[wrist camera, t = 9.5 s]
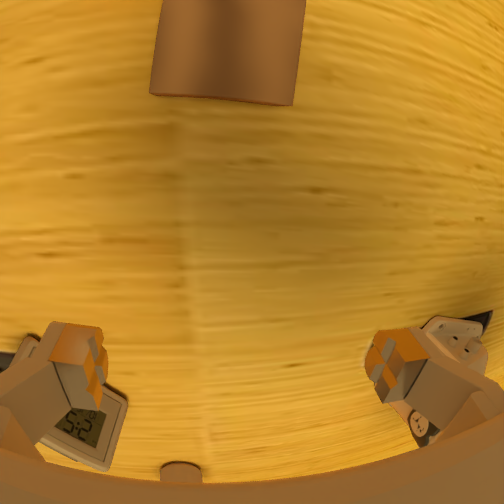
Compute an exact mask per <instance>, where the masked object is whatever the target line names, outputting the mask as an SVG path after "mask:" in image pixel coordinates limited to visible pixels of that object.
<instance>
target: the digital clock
mask: <svg viewBox="0 0 504 504" xmlns="http://www.w3.org/2000/svg"><path fill="white" fill-rule="evenodd" d="M38 344H39V341H37V340H36V339H35V338H33V337H30V336H28V337H26V338H25V339H24V340H23V342H22V344H21V346H20V347H19V349H18V351H17V353H16V355H15V357H14V358H13V360H12V362H11V364H10V366H9V368H10V367H12V366H13V365H15V364H16V363H18V362H20V361H21V360H23V359H25V358H26V357H29V358H31V357H32V355H33V353H34V351H35V349H36V348H37V346H38ZM101 389H102V392H103V395H102V399H101V403H100V407H99V411H94V410H86V409H79V408H72V407H71V410H70V411H69V412H68V413H67V414H66V415H65V416H64V417H63V418H62V419H61V420H60V421H59V422H57V423H56V424H55V425H54V426H53V427H52V428H51V429H50V430H49V431H48V432H47V433H46V434H45V435H44V436H43V437H42V438H41V439H40V440H39V441H38V442H40V443H42V444H43V445H45V446H47V447H49V448H51V449H53V450H54V451H56V452H58V453H60V454H62V455H64V456H66V457H68V458H70V459H72V460H74V461H76V462H78V461H79V462H81V463H83V464H86V465H88V466H90V467H92V468H94V469H97V470H99V471H103V472H106V471H108V470H109V468H110V466H111V463H112V459H113V456H114V452H115V449H116V445H117V442H118V439H119V435H120V432H121V429H122V425H123V422H124V419H125V416H126V412H127V409H128V403H127V401H126V400H125V399H124V398H123V397H121V396H119V395H118V394H116V393H114V392H113V391H111V390H109V389H108V387H107V386H105V385H103V384H102V385H101Z"/></svg>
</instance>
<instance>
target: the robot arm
mask: <svg viewBox="0 0 504 504" xmlns="http://www.w3.org/2000/svg"><path fill="white" fill-rule="evenodd" d="M482 329H483V325H482V324H481V323H480V322H476V321H469V320H461V319H454V318H447V317H440V316H436V317H434V318H433V319H431V320H430V321H429V322H428V323H427V324H426V325H425V326H424V328H423V329H422V330H421V329H420V328H418V327H407V328H401V329H391V330H379V331H378V332H377V333H376V334H375V336H374V339H373V343H374V346H373V347H372V348H371V349H370V350H369V351H368V353H367V356H366V358H365V370H366V373H367V375H368V377H369V379H370V380H372V381H373V382H375V391H376V392H377V394H378V396H379V398H380V400H381V402H382V404H383V403H388V404H389V405H390V406H392V407H393V408H394V409H395V410H396V411H397V413H398V414H399V415H400V416H401V418H402V419H403V420H404V421H405V422H406V424H407V425H408V426H409V427H410V430H411V432H412V436H413V438H414V439H415V441H416V442H417V445H418V446H419V449H416V450H413V451H409V452H406V453H403V454H400V455H397V456H393V457H390V458H386V459H383V460H379V461H375V462H371V463H367V464H363V465H359V466H354V467H350V468H345V469H340V470H335V471H330V472H325V473H319V474H313V475H306V476H299V477H292V478H284V479H275V480H264V481H250V482H230V483H186V482H166V481H153V480H142V479H133V478H125V477H118V476H111V475H105V474H99V473H93V472H88V471H83V470H78V469H73V468H69V467H65V466H61V465H56V464H53V463H49V462H46V461H45V460H44V458H43V457H42V455H41V454H40V453H39V451H38V450H37V449H36V447H35V446H34V445H35V444H36V443H37V442H38V441H39V440H40V439H41V438H42V437H43V436H44V435H45V434H46V433H47V432H48V431H49V430H50V429H51V428H52V427H53V426H54V425H55V424H56V423H57V422H59V421H60V420H61V419H62V418H63V417H64V416H65V415H66V414H67V413H68V412H69V411H70V410H71V407H72V408H79V409H86V410H94V411H99V407H100V403H101V399H102V395H103V392H102V389H101V385H102V384H104V383H105V382H106V379H107V375H108V355H107V351H106V350H105V349H104V347H103V346H102V343H103V340H104V337H103V332H102V329H101V328H100V327H94V326H86V325H78V324H71V323H63V322H56V321H53V322H51V323H50V324H49V326H48V328H47V329H46V331H45V333H44V335H43V337H42V338H41V340H40V342H39V344H38V346H37V348H36V349H35V351H34V353H33V355H32V357H31V358H29V357H26V358H25V359H23V360H21V361H20V362H18V363H16V364H15V365H13V366H12V367H10V368H8V369H7V370H5V371H4V372H2V373H0V504H504V391H503V390H502V388H501V387H500V386H499V384H498V383H497V382H495V381H493V380H491V379H489V378H487V377H485V376H484V373H485V369H486V365H487V360H488V352H487V350H486V349H485V347H484V346H483V345H482V342H481V341H480V337H481V334H482Z"/></svg>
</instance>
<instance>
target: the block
mask: <svg viewBox="0 0 504 504" xmlns="http://www.w3.org/2000/svg"><path fill="white" fill-rule="evenodd" d="M305 7H306V0H163V4H162V9H161V15H160V20H159V26H158V32H157V38H156V44H155V51H154V58H153V65H152V73H151V81H150V90H149V93H151V94H153V95H156V96H176V97H194V98H209V99H220V100H231V101H240V102H249V103H257V104H264V105H271V106H293V98H294V91H295V84H296V77H297V69H298V62H299V54H300V47H301V39H302V31H303V23H304V15H305Z"/></svg>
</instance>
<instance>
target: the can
mask: <svg viewBox="0 0 504 504" xmlns="http://www.w3.org/2000/svg"><path fill="white" fill-rule="evenodd" d="M160 481H166V482H186V483H203V482H202V473H201V471H200V470H199V469H198V468H196V467H195V466H194V465H191V464H188V463H171V464H168V465H166V466H165V467H164V468H162V469H161V471H160Z"/></svg>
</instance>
